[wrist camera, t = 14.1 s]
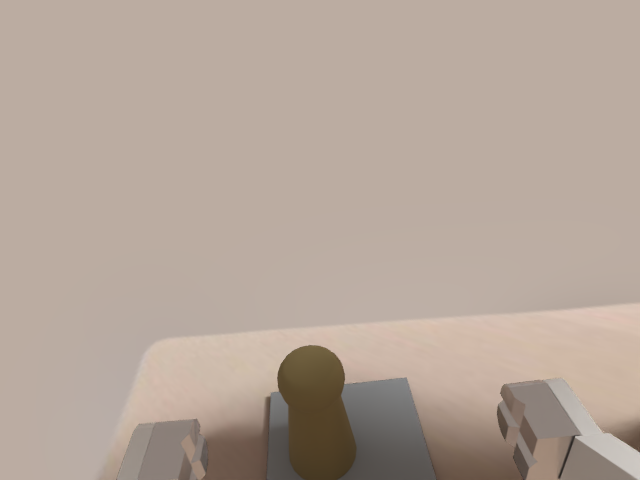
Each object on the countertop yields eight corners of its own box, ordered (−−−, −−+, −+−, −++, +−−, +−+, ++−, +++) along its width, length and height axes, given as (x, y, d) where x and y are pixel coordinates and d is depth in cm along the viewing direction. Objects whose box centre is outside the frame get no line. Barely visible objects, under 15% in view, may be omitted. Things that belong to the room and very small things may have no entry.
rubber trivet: (406, 381, 44) (406, 377, 43) (450, 531, 32) (450, 527, 31) (271, 396, 44) (270, 392, 43) (264, 551, 32) (262, 547, 31)
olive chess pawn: (363, 427, 39) (357, 339, 33) (346, 492, 34) (335, 403, 28) (302, 413, 41) (286, 328, 35) (278, 473, 36) (255, 386, 30)
